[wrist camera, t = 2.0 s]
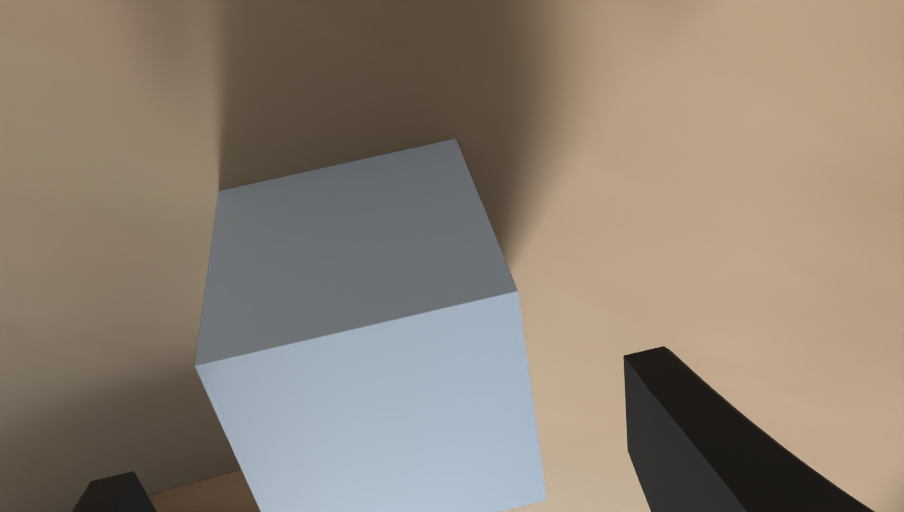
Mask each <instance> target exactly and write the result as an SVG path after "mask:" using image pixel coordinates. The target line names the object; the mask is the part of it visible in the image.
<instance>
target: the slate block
mask: <svg viewBox="0 0 904 512" xmlns="http://www.w3.org/2000/svg"><path fill="white" fill-rule="evenodd" d="M195 368H196V370H197V373H198V375H199V377H200V379H201V381H202V384H203V386H204V388H205V390H206V392H207V395H208V397H209V399H210V401H211V403H212V406H213V408H214V410H215V412H216V414H217V417H218V419H219V421H220V423H221V425H222V428H223V430H224V432H225V434H226V436H227V439H228V441H229V443H230V445H231V447H232V450H233V452H234V454H235V456H236V458H237V461H238V463H239V465H240V467H241V469H242V472H243V474H244V476H245V478H246V480H247V483H248V485H249V487H250V489H251V491H252V494H253V496H254V498H255V500H256V502H257V505H258V507H259V509H260V511H261V512H500V511H504V510H509V509H513V508H517V507H521V506H525V505H529V504H533V503H537V502H541V501H545V500H547V498H546V490H545V483H544V476H543V469H542V461H541V454H540V447H539V440H538V433H537V425H536V418H535V411H534V404H533V396H532V389H531V382H530V375H529V367H528V360H527V353H526V346H525V338H524V331H523V324H522V317H521V310H520V302H519V295H518V290H517V288H516V285H515V283H514V280H513V278H512V275H511V273H510V270H509V268H508V265H507V263H506V261H505V258H504V256H503V253H502V251H501V248H500V246H499V243H498V241H497V238H496V236H495V234H494V231H493V229H492V226H491V224H490V221H489V219H488V216H487V214H486V211H485V209H484V206H483V204H482V202H481V199H480V197H479V194H478V192H477V189H476V187H475V184H474V182H473V179H472V177H471V175H470V172H469V170H468V167H467V165H466V162H465V160H464V157H463V155H462V152H461V150H460V148H459V145H458V143H457V140H456V139H451V140H447V141H442V142H438V143H433V144H429V145H424V146H420V147H415V148H411V149H406V150H402V151H397V152H393V153H388V154H384V155H379V156H374V157H370V158H365V159H361V160H356V161H352V162H347V163H343V164H338V165H334V166H329V167H325V168H320V169H316V170H311V171H307V172H302V173H298V174H293V175H289V176H284V177H280V178H275V179H271V180H266V181H262V182H257V183H253V184H248V185H244V186H239V187H235V188H230V189H226V190H221V191H219V192H218V199H217V206H216V214H215V221H214V228H213V235H212V243H211V250H210V257H209V265H208V272H207V279H206V287H205V294H204V301H203V309H202V316H201V323H200V330H199V338H198V345H197V352H196V360H195Z"/></svg>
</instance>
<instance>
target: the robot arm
mask: <svg viewBox="0 0 904 512" xmlns="http://www.w3.org/2000/svg"><path fill="white" fill-rule="evenodd" d="M624 376H625V398H626V421H627V443H628V452H629V455H630V458H631V460H632V463H633V466H634V468H635V471H636V474H637V476H638V479H639V482H640V484H641V487H642V489H643V492H644V495H645V497H646V500H647V502H648V505H649V507H650V510H651V512H874V511H873V510H871V509H870V508H868V507H867V506H865V505H864V504H862V503H861V502H859V501H858V500H856V499H855V498H853V497H852V496H850V495H849V494H847V493H846V492H844V491H843V490H841V489H840V488H839V487H837V486H836V485H834V484H833V483H832V482H830V481H829V480H827V479H826V478H825V477H823V476H822V475H820V474H819V473H818V472H816V471H815V470H813V469H812V468H811V467H809V466H808V465H806V464H805V463H804V462H803V461H801V460H800V459H799V458H797V457H796V456H795V455H793V454H792V453H791V452H789V451H788V450H787V449H785V448H784V447H783V446H782V445H780V444H779V443H778V442H777V441H775V440H774V439H773V438H771V437H770V436H769V435H768V434H766V433H765V432H764V431H763V430H761V429H760V428H759V427H758V426H756V425H755V424H754V423H753V422H751V421H750V420H749V419H748V418H747V417H745V416H744V415H743V414H742V413H740V412H739V411H738V410H737V409H736V408H735V407H733V406H732V405H731V404H730V403H729V402H728V401H726V400H725V399H724V398H723V397H722V396H721V395H719V394H718V393H717V392H716V391H715V390H714V389H712V388H711V387H710V386H709V385H708V384H707V383H706V382H705V381H703V380H702V379H701V378H700V377H699V376H698V375H697V374H696V373H695V372H693V371H692V370H691V369H690V368H689V367H688V366H687V365H686V364H685V363H684V362H682V361H681V360H680V359H679V358H678V357H677V356H676V355H675V354H674V353H673V352H672V351H670V350H669V349H667V348H666V347H664V346H663V347H659V348H654V349H650V350H646V351H642V352H637V353H633V354H629V355H625V356H624ZM72 512H157V511H156V509H155V508H154V506H153V504H152V502H151V501H150V499H149V497H148V495H147V494H146V492H145V490H144V488H143V487H142V485H141V483H140V481H139V480H138V478H137V476H136V474H135V473H134V471H133V472H129V473H125V474H121V475H116V476H112V477H108V478H104V479H99V480H95V481H91V483H90V484H89V486H88V487H87V489H86V490H85V492H84V493H83V495H82V496H81V498H80V500H79V501H78V503H77V504H76V506H75V507H74V509H73V511H72Z"/></svg>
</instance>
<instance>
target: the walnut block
mask: <svg viewBox="0 0 904 512" xmlns="http://www.w3.org/2000/svg"><path fill="white" fill-rule="evenodd" d="M148 497H149V499H150V501H151V502H152V504H153V506H154V508H155V509H156V511H157V512H261V511H260V509H259V507H258V505H257V502H256V500H255V498H254V496H253V494H252V491H251V489H250V487H249V485H248V483H247V480H246V478H245V476H244V474H243V472H242V469H241V470H238V471H234V472H230V473H227V474H223V475H220V476H216V477H212V478H209V479H205V480H201V481H198V482H194V483H191V484H187V485H183V486H180V487H176V488H173V489H169V490H165V491H162V492H158V493H154V494H151V495H148Z"/></svg>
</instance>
